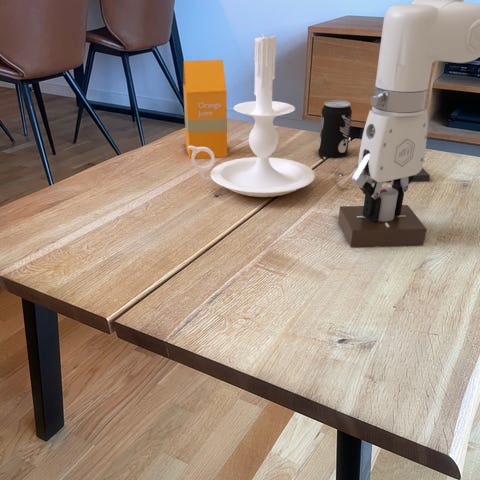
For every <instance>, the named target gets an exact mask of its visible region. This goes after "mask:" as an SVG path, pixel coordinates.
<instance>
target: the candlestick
mask: <svg viewBox="0 0 480 480" xmlns="http://www.w3.org/2000/svg"><path fill="white" fill-rule="evenodd" d="M261 36H262V37H255V38H254V58H253V61H254V89H253V90H254V91H253V95H254V96H255V100H251V101H244V102H240V103H237V104H235V105H234V106H233V110H234V111H235V112H237V113H240V114H242V115H246V116H250V117H251V118H253V120H254V124H253V127H252V129H251V131H249V135H248V145H249V147H250V150H251V151H252V152H253V154H254V155H256V156H253V157H252V156H251V157H241V158H236V159H231V160H227V161H224V162H222V163H219V164H218V165H216V166H215V167H213V166H214V165H215V160H216V157H214V154H213V152H212V151H211V150H210V149H209V148H207V147H194V146H188V148H189V149H191V150H192V151H193V153H192V157H191V159H190V160H191V164H192V166H193V167H194V168H195V169H196V170H197V171H198V172H199V175H200V178H201V179H202V180H204V181H210V182H211V181H213V182H215V184H217V185H220V186H222V187H223V188H226V189H228V190H230V191H232V192H234V193H237V194H239V195H243V196H247V197H256V198H269V197H270V198H271V197H272V198H273V197H278V196H279V197H280V196H284V195H288V194H292V193H293V192H295V191H298V190H299V189H302V188H305V187H306V186H309V185H310V184H312V183H313V182H314V180H315V179H316V173H315V172H314V170H313V169H312V168H311V167H309V166H308V165H306V164H304V163H301V162H299V161H296V160H292V159H287V158H280V157H272V156H271V155H272V154H273V153H275V151H276V149H277V147H278V144H279V135H278V132H277V130H276V128H275V126H274V119H275V118H277V117H279V116H284V115H287V114H291V113H292V112H294V111H295V110H296V107H295V105H292V104H290V103H287V102H282V101H275V100H273V86H274V85H273V82H274V80H275V79H276V55H277V35H272V36H265V35H264V34H263V33H261ZM200 151H205V152H207V153H209V154H210V156H211V158H210V162H209V163H208V164H207V165H205V166H202V165H199V164H198V163H197V162H196V158H195V155H196V154H197V153H198V152H200ZM270 156H271V157H270ZM212 168H213V169H212ZM210 169H212V170H211V171H210V176H206V175H205V173H206V172H208V171H209V170H210Z"/></svg>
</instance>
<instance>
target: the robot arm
mask: <svg viewBox="0 0 480 480" xmlns="http://www.w3.org/2000/svg"><path fill="white" fill-rule="evenodd" d="M378 54H379V55H378V60H377V67H376V68H377V70H376V76H375V77H376V78H375V84H374V91H373V93H374V94H373V95H371V96H370V97H369V104H370V105H371V106H372V108H371V109H369V112H368V114H367V118H366V121H365V125H364V129H363V133H362V137H361V138H362V139H361V142H360V146H359V153H358V160H357V161H358V163H357V168H356V169H355V171H354V173H353V175H352V176H351V178H350V181H351V183H352V184H354V185H355V186H357V187H358V188H359V189H360V190H361V193H362V194H363V195H364V200H363V206H364V207H363V216H364V217H366V218H368V219H369V220H371V221H373V222H376V221H378V218H379V212H380V205H381V198H379V194H380V191H381V187H383V184H384V183H388V182H387V181H391V182H390V185H391V186H390V187H391V188H394V189H396V190H397V191H398V197H397V203H396V208H395V214H394V215H396V216H399V215H400V214H401V208H402V205H403V202H404V196H405V193H407V191H408V190H409V185H410V184H411V183H412V182H411V181H412V180H413V178H414V176H416V175H417V174H418V173H419V172H420V171H421V170H422V168H423V167H424V161H425V155H426V149H427V141H428V140H427V139H428V128H429V127H428V126H429V123H428V121H429V120H428V119H429V116H428V109H427V108H425V107H426V101H427V97H428V96H427V95H428V91H429V84H430V79H431V73H432V68H433V63H434V62H445V63H453V64H455V63H456V64H464V63H470V62H472V61H475V60H477V59H479V58H480V4H479V3H476V2H469V1H467V2H466V1H465V0H412V1H411V3H402V4H401V3H399V4H394V5H392V6H390V7H389V8H387V10H386V12H385V13H384V17H383V21H382V30H381V39H380V47H379V53H378ZM423 169H424V168H423ZM373 181H374V182H373ZM373 183H374V184H373Z"/></svg>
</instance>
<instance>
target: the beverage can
mask: <svg viewBox="0 0 480 480" xmlns="http://www.w3.org/2000/svg"><path fill="white" fill-rule="evenodd" d="M323 104H324V105H323V107H322V109H321V115H320V117H321V118H320V128H319V138H318V139H319V140H318V156H319V157H320V159H322V160H324V161H325V158H329V159H341V158H345V157H347V156H348V150H349V141H350V132H351V125H352V123H351V122H352V116H353V115H352V113H353V110H352V108H351V102H350V101H347V100H341V99H340V100H339V99H336V100H335V99H333V100H332V99H331V100H327V101H324V103H323Z"/></svg>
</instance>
